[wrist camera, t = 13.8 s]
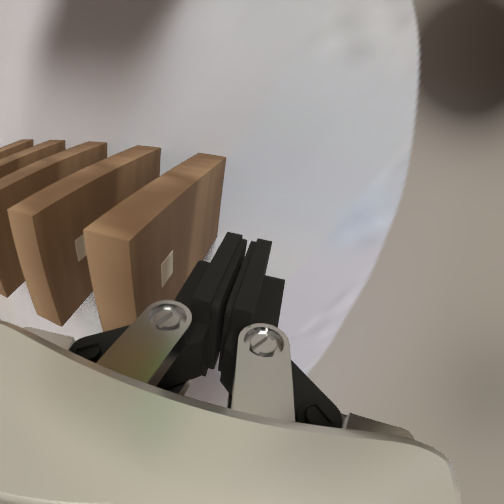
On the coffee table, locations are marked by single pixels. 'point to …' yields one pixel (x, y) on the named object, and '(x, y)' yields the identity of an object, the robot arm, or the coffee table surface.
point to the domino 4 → (72, 227)
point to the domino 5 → (154, 239)
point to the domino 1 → (15, 148)
